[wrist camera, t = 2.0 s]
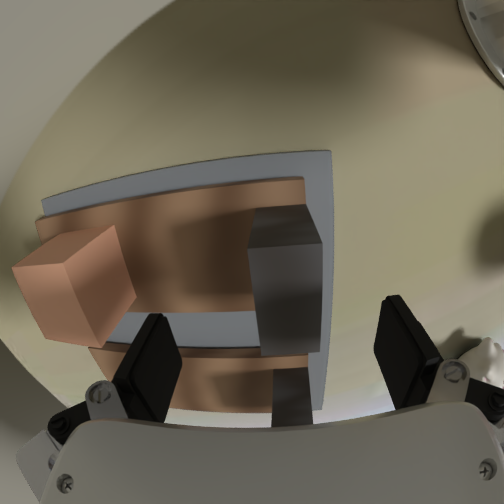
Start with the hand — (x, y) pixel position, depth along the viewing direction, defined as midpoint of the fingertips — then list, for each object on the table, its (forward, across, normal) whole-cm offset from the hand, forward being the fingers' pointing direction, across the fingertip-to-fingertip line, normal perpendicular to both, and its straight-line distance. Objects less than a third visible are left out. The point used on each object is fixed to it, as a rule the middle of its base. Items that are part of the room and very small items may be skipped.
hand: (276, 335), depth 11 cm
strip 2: (+9, +9, +13) cm, 18 cm away
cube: (+8, +14, -1) cm, 16 cm away
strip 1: (+9, +9, -1) cm, 12 cm away
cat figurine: (+10, -24, +18) cm, 32 cm away
